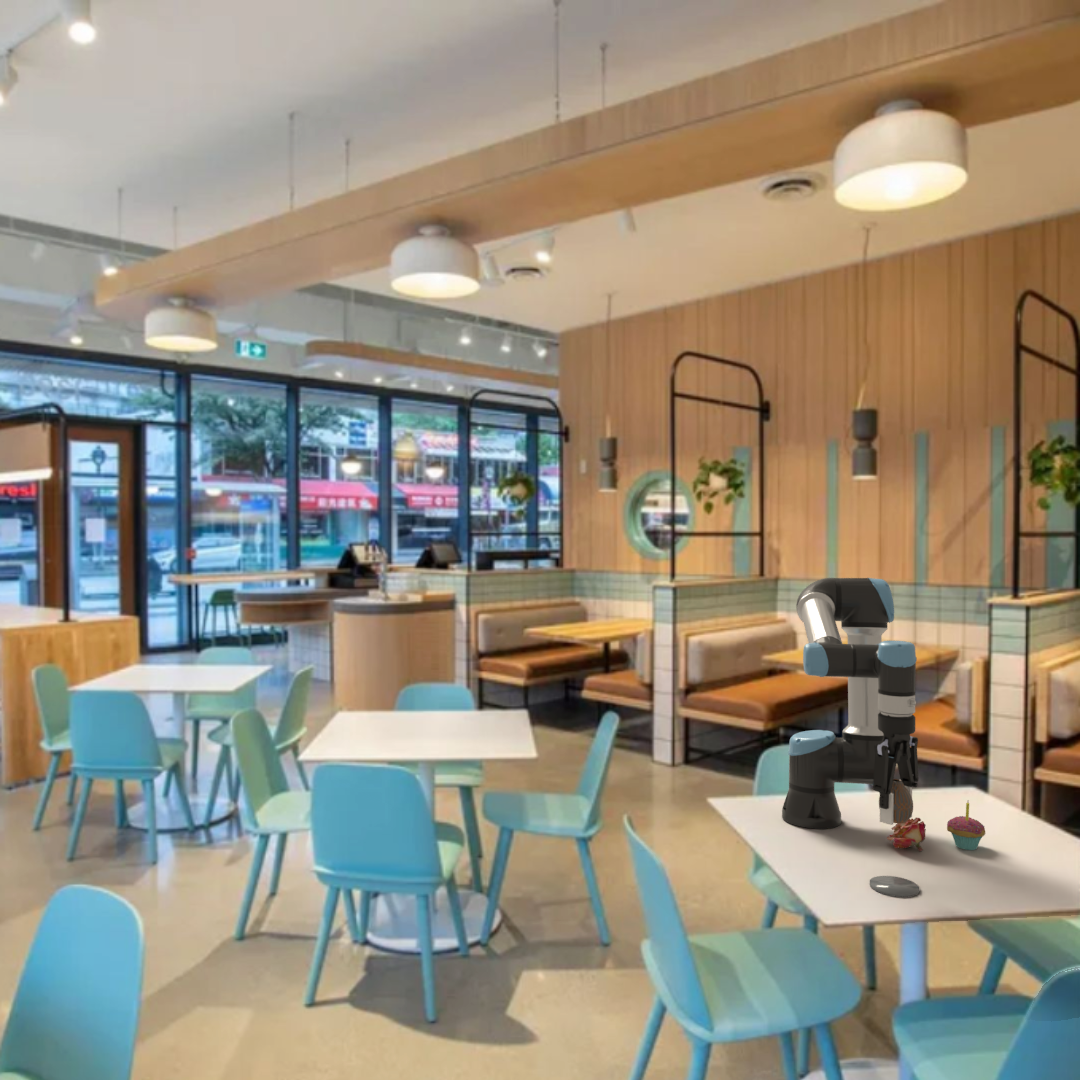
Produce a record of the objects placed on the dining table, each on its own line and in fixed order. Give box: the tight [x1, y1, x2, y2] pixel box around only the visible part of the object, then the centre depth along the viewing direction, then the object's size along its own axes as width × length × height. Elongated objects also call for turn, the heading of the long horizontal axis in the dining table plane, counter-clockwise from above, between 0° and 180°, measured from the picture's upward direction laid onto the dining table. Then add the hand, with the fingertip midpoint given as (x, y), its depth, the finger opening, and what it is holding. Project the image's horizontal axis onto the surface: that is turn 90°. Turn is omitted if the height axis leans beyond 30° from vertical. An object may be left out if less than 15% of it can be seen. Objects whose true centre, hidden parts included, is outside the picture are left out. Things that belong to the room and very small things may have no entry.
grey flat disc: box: [869, 875, 920, 898], centre depth 190 cm, size 10×10×1 cm
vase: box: [878, 778, 914, 824], centre depth 190 cm, size 7×7×9 cm
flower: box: [886, 817, 927, 852], centre depth 213 cm, size 10×9×8 cm
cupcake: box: [946, 799, 986, 851], centre depth 215 cm, size 9×8×12 cm
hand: (895, 819), depth 190 cm, fingers closed on vase, 7 cm apart
